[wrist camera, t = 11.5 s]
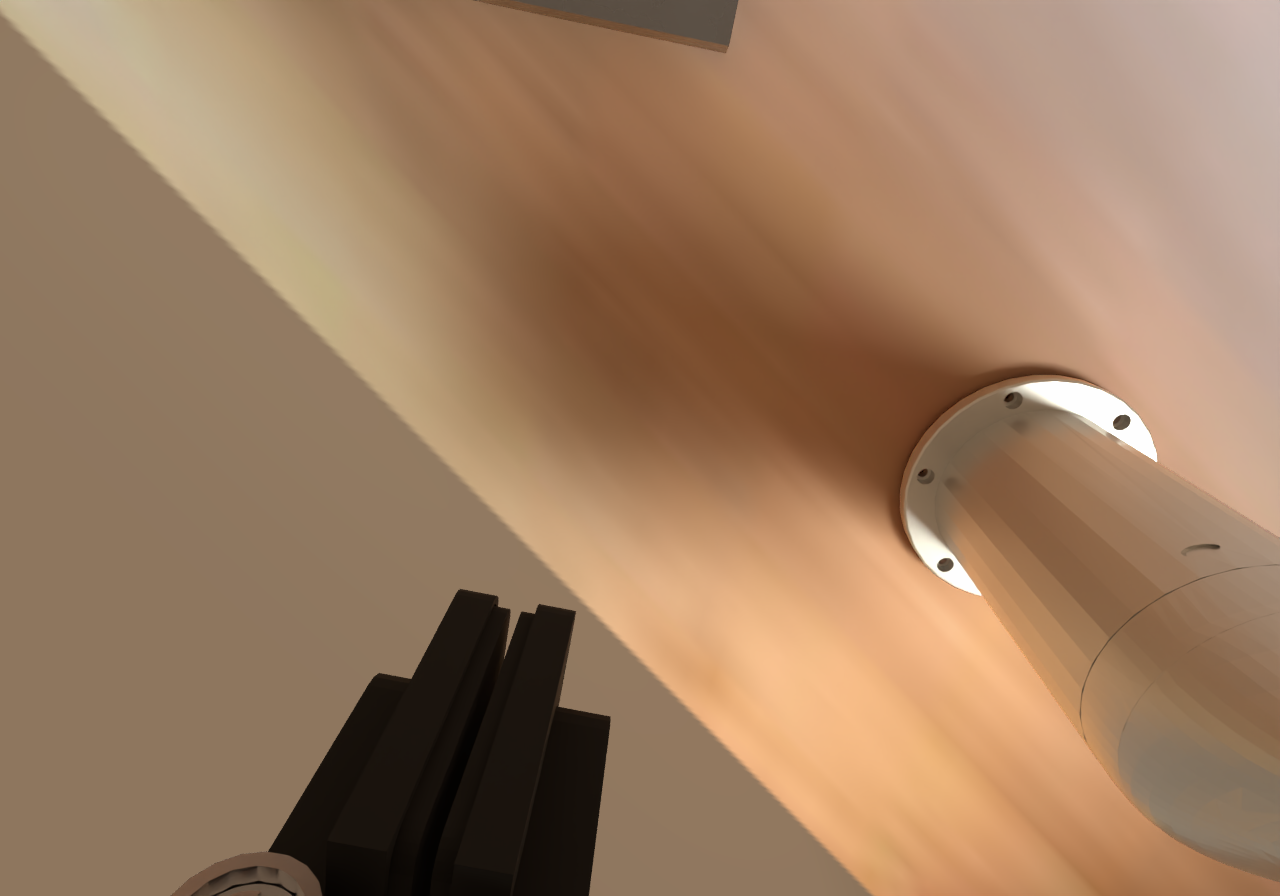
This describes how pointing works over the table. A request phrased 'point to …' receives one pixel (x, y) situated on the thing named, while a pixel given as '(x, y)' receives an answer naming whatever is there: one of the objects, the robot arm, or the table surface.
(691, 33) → the grey square base plate
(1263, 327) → the table surface
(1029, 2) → the table surface
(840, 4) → the table surface
